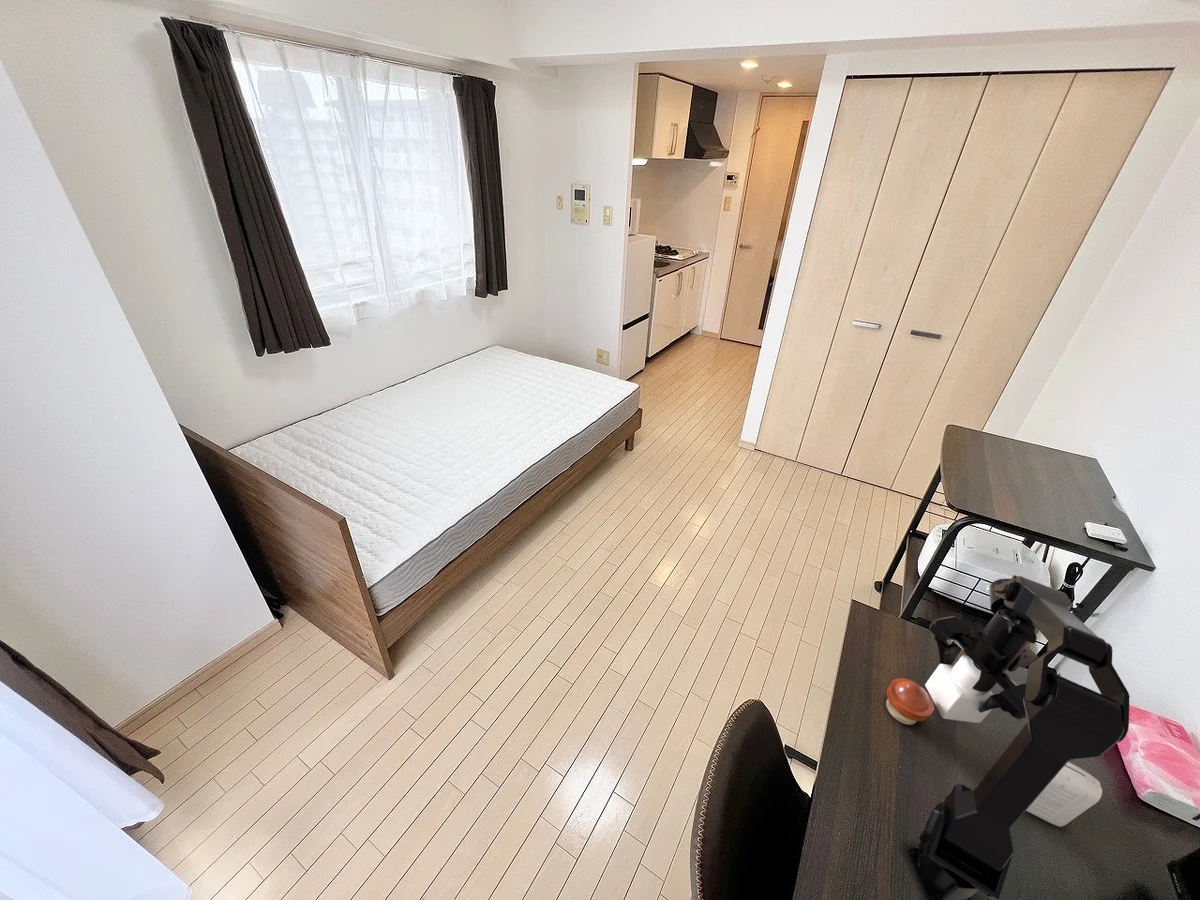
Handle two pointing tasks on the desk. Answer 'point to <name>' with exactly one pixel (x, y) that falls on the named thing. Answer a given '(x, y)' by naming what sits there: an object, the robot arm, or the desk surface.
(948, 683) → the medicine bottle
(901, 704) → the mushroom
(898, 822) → the desk surface
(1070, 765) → the photo printer
